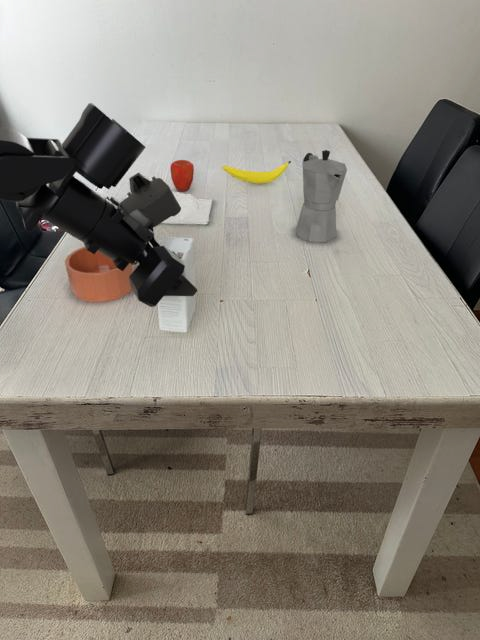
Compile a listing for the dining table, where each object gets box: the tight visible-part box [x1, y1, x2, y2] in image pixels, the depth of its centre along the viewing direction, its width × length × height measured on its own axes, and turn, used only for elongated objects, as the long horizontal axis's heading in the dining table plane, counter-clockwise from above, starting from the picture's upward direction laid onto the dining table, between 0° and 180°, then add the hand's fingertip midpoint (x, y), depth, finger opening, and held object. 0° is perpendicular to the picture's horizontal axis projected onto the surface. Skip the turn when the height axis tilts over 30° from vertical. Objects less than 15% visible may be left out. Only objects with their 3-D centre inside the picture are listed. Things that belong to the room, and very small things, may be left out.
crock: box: [64, 246, 135, 303], centre depth 78 cm, size 11×11×6 cm
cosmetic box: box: [156, 236, 196, 333], centre depth 61 cm, size 6×4×12 cm
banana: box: [220, 160, 292, 185], centre depth 122 cm, size 3×19×6 cm, turn 92°
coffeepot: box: [295, 149, 348, 244], centre depth 94 cm, size 15×9×18 cm, turn 18°
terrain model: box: [124, 191, 213, 226], centre depth 106 cm, size 17×23×5 cm
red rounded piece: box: [169, 159, 195, 192], centre depth 117 cm, size 6×6×8 cm
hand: (185, 279), depth 61 cm, fingers closed on cosmetic box, 7 cm apart
